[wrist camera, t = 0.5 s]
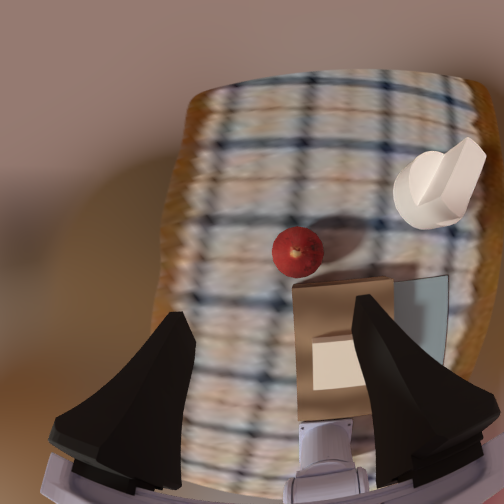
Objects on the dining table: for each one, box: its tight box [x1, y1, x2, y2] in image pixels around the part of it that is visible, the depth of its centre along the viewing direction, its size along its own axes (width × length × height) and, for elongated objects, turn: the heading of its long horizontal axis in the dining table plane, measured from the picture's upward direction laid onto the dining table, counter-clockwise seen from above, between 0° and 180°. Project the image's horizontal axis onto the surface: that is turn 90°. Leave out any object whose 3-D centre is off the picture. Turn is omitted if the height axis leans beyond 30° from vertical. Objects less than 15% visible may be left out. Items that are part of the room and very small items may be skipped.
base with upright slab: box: [393, 137, 486, 229], centre depth 25 cm, size 9×9×12 cm
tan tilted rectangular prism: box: [312, 334, 366, 390], centre depth 28 cm, size 6×9×2 cm, turn 97°
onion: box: [272, 226, 324, 278], centre depth 30 cm, size 6×6×8 cm
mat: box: [394, 275, 448, 365], centre depth 31 cm, size 14×10×1 cm
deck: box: [292, 276, 394, 421], centre depth 31 cm, size 18×12×4 cm, turn 7°
